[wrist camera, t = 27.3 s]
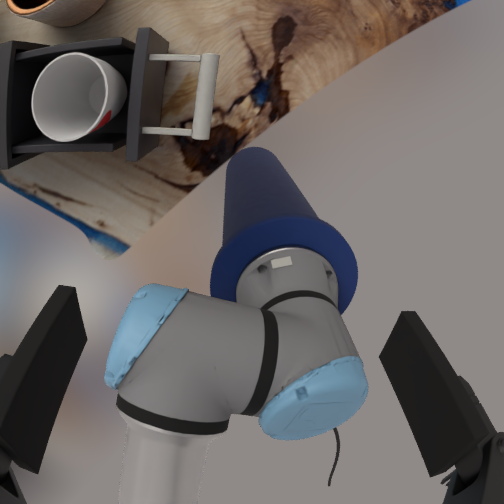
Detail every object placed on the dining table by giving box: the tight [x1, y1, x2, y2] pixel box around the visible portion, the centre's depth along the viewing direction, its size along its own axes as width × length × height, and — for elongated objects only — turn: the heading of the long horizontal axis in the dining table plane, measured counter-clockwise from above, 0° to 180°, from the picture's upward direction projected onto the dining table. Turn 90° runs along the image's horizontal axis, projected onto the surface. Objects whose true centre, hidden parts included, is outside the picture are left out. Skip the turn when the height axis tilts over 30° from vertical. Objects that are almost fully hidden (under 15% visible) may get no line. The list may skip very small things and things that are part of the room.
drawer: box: [11, 28, 220, 161], centre depth 27 cm, size 23×13×9 cm, turn 82°
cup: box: [32, 52, 127, 142], centre depth 25 cm, size 8×8×10 cm
